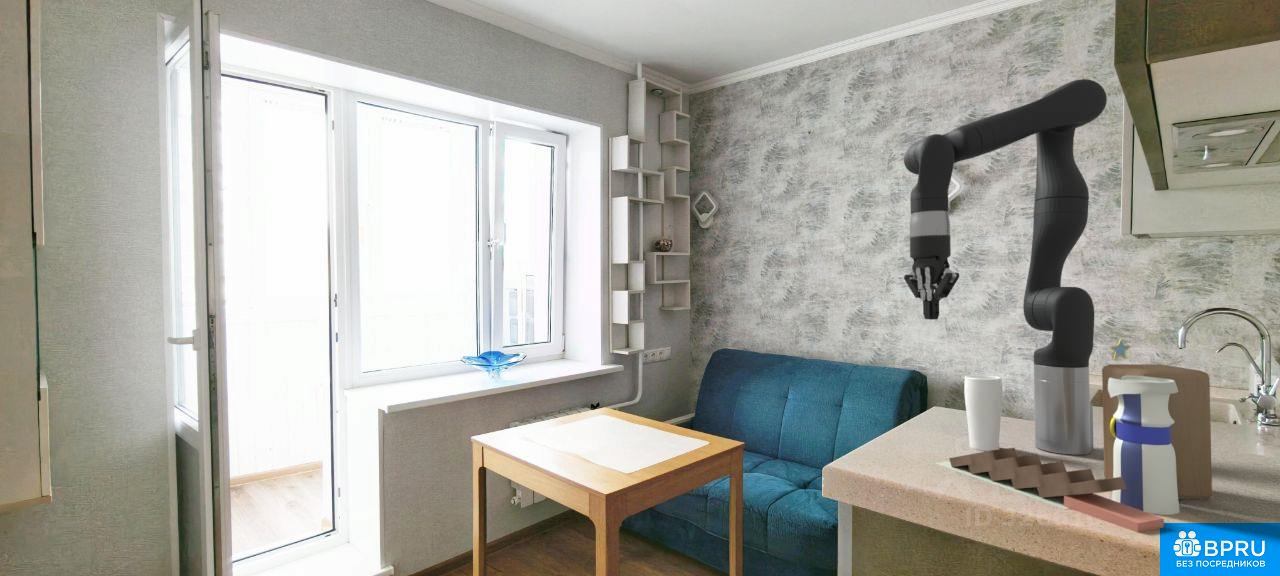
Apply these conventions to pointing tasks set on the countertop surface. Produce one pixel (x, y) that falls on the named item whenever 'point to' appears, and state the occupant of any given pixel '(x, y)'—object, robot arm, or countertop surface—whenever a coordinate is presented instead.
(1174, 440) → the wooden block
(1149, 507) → the white and blue jug
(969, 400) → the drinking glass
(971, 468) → the domino
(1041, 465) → the domino
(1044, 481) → the domino
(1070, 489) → the domino
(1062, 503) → the mat
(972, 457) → the domino
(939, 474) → the countertop surface
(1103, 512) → the domino
